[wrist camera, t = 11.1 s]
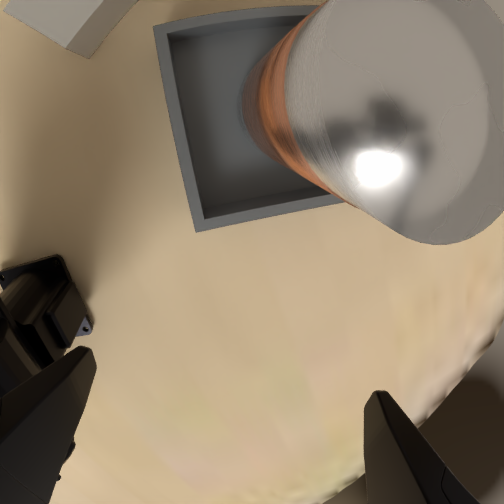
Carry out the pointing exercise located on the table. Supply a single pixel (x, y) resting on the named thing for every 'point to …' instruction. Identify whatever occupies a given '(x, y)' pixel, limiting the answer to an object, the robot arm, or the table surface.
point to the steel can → (390, 111)
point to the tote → (227, 116)
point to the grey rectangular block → (71, 20)
